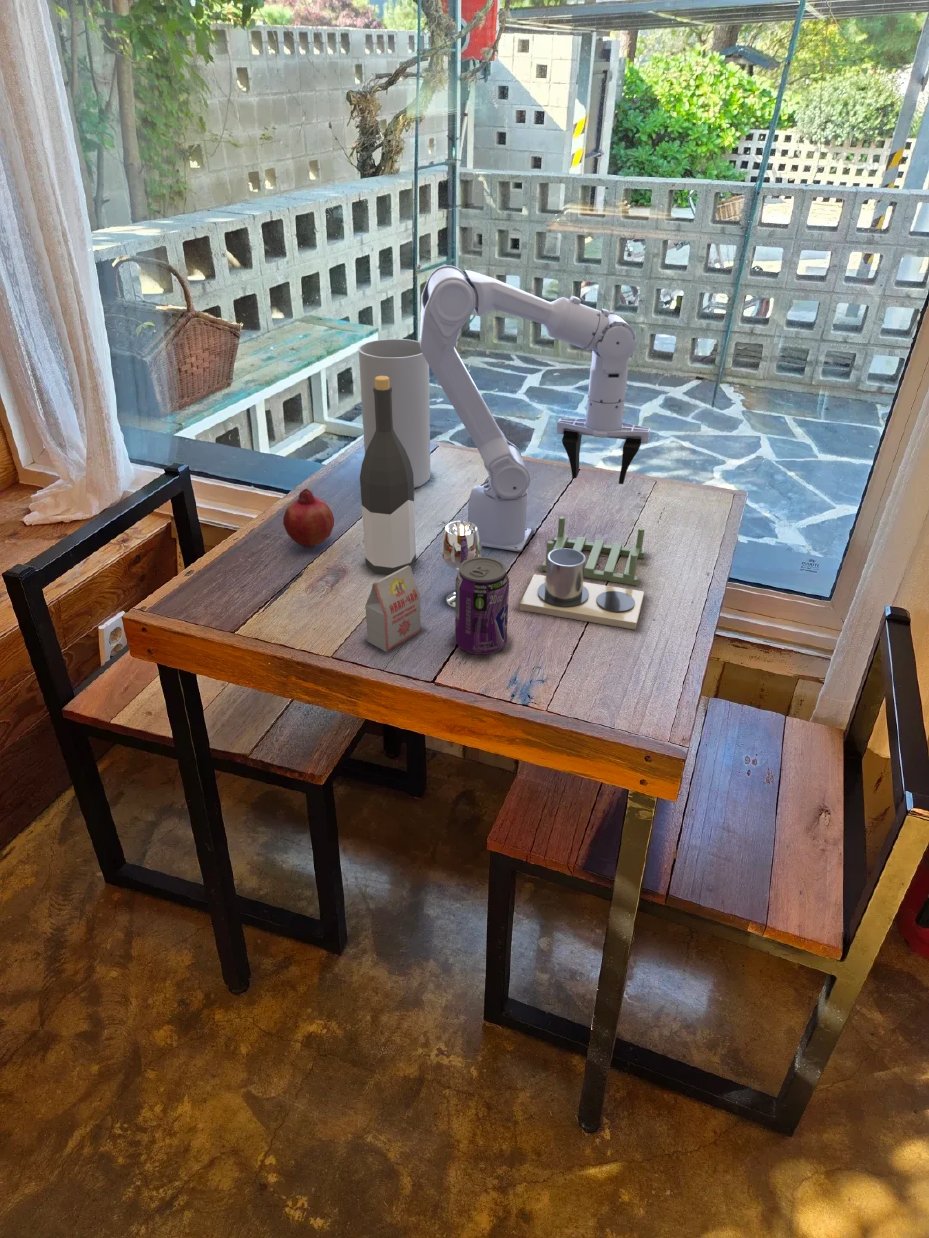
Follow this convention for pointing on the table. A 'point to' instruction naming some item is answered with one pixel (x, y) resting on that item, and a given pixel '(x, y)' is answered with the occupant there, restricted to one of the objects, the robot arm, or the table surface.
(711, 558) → the table surface
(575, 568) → the pot
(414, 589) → the tea bag
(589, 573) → the rack
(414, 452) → the cylinder vase
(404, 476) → the wine bottle
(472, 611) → the beverage can
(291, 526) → the fruit
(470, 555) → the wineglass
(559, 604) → the hob
